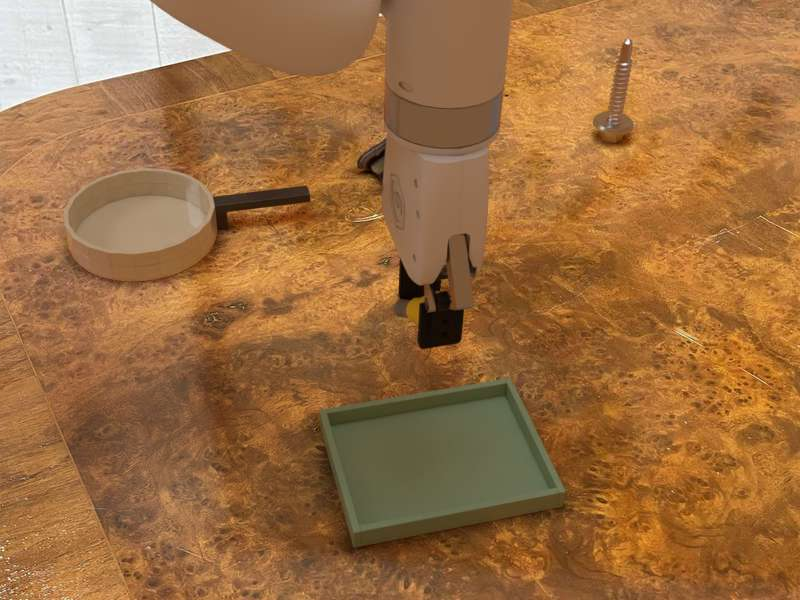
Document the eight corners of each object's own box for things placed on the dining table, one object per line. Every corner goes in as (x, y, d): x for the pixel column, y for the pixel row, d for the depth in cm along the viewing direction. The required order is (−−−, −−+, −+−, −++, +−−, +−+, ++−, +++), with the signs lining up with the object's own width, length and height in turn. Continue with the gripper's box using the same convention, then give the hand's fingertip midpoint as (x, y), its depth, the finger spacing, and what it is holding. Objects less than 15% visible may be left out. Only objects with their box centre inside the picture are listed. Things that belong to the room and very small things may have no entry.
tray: (353, 548, 82) (353, 532, 80) (319, 424, 91) (318, 409, 90) (563, 506, 85) (566, 491, 84) (508, 392, 95) (511, 377, 94)
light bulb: (460, 350, 78) (444, 320, 76) (393, 338, 82) (376, 309, 79) (479, 314, 80) (464, 284, 78) (412, 304, 83) (396, 274, 81)
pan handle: (217, 231, 112) (214, 206, 110) (215, 222, 113) (212, 196, 111) (311, 219, 114) (310, 194, 112) (307, 210, 115) (307, 184, 113)
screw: (621, 125, 131) (637, 145, 127) (584, 129, 130) (599, 149, 127) (640, 26, 123) (657, 46, 119) (600, 30, 122) (616, 49, 118)
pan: (71, 291, 104) (65, 262, 102) (67, 204, 115) (62, 177, 113) (225, 270, 107) (223, 242, 105) (207, 187, 118) (204, 161, 116)
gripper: (355, 50, 73) (354, 259, 85) (422, 185, 61) (410, 408, 73) (459, 40, 75) (444, 246, 87) (545, 170, 63) (514, 390, 74)
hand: (429, 318), depth 80 cm, fingers closed on light bulb, 4 cm apart
